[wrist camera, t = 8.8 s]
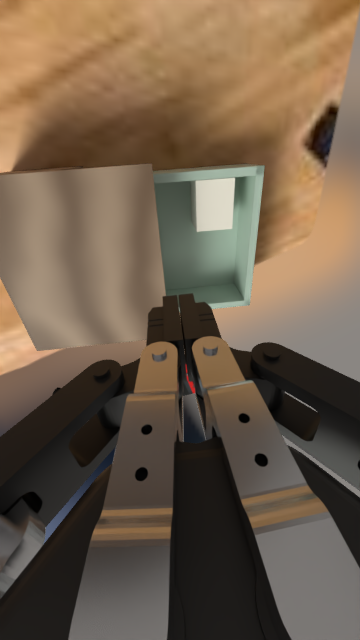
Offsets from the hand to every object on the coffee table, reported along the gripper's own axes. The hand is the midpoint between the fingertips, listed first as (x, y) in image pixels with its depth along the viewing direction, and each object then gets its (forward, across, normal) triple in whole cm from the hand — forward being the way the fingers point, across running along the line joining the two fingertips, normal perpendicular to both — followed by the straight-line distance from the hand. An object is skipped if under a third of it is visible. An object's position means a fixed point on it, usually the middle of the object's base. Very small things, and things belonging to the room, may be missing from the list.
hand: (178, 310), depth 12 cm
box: (+24, -2, +3) cm, 24 cm away
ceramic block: (+20, -3, -1) cm, 21 cm away
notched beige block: (+23, +9, +3) cm, 25 cm away
